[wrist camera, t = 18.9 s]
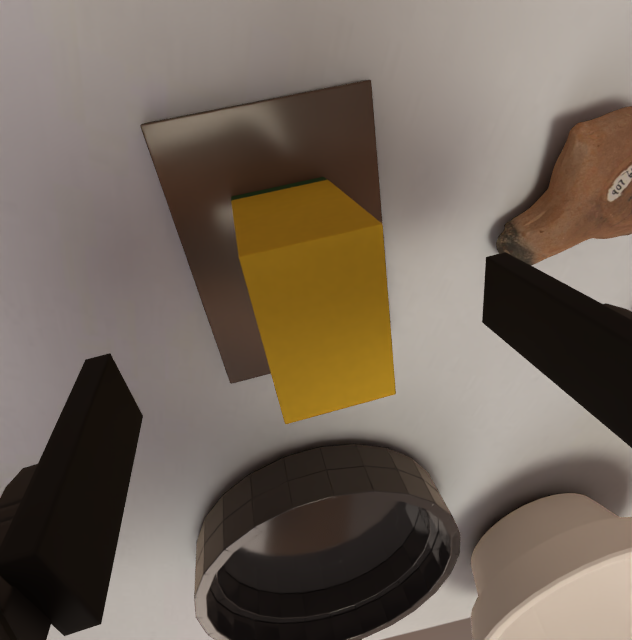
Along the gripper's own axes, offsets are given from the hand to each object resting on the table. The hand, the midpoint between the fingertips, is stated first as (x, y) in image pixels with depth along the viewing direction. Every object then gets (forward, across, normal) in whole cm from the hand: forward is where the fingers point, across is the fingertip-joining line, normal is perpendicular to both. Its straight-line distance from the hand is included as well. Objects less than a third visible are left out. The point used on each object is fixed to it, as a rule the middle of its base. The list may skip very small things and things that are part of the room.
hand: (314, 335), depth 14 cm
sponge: (+8, +1, 0) cm, 8 cm away
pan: (+8, -2, -24) cm, 25 cm away
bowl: (+8, +18, -35) cm, 40 cm away
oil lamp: (+8, +16, 0) cm, 18 cm away
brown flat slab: (+8, 0, 0) cm, 8 cm away
